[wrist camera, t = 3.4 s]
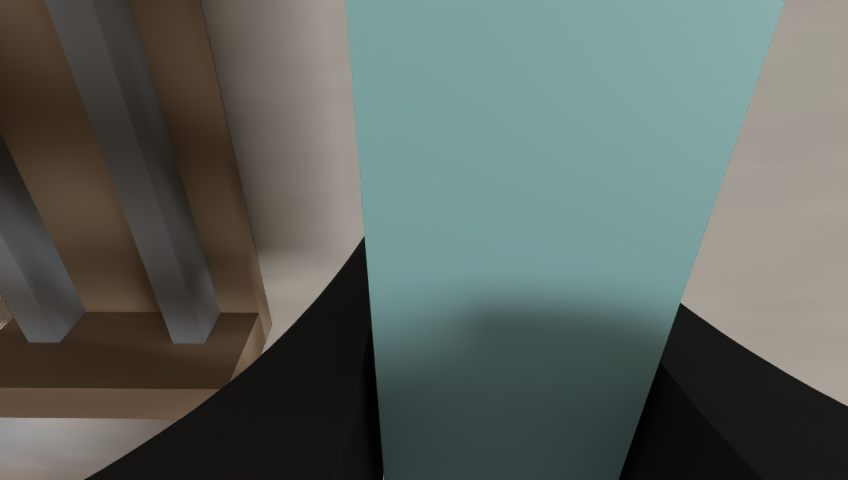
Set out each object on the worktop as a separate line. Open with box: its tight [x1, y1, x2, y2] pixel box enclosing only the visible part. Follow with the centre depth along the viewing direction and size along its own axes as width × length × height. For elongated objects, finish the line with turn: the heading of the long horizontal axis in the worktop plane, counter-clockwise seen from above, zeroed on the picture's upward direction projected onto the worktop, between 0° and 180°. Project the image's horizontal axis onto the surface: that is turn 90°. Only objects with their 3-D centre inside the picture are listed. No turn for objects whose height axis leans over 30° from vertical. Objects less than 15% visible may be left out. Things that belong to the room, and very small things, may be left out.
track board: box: [0, 0, 272, 419], centre depth 16 cm, size 19×10×5 cm, turn 0°
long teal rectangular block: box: [346, 0, 785, 480], centre depth 9 cm, size 12×3×6 cm, turn 0°
